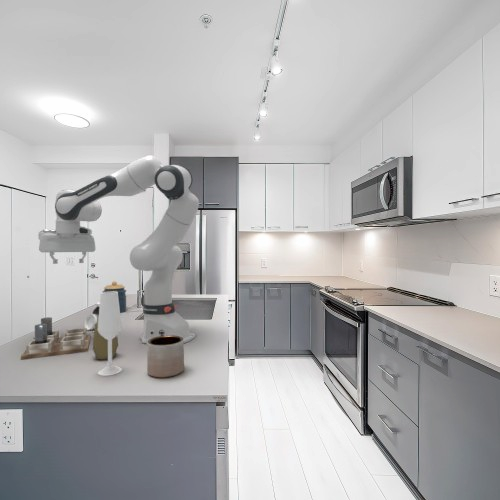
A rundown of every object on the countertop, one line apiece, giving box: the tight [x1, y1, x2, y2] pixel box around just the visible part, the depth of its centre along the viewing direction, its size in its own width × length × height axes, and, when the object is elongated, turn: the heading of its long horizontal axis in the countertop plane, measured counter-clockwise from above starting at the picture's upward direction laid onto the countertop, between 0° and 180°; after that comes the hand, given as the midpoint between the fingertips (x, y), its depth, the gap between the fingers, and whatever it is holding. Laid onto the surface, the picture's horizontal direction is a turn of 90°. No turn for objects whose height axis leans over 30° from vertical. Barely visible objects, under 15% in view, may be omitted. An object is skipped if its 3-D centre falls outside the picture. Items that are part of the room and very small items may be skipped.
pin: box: [34, 323, 47, 344], centre depth 113 cm, size 4×4×9 cm
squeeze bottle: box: [92, 316, 119, 360], centre depth 109 cm, size 8×8×18 cm
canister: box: [102, 281, 128, 314], centre depth 185 cm, size 13×13×18 cm
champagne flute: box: [97, 291, 123, 377], centre depth 97 cm, size 7×7×24 cm
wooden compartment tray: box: [20, 316, 92, 360], centre depth 120 cm, size 20×20×10 cm
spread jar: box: [84, 301, 100, 331], centre depth 148 cm, size 12×11×12 cm
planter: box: [146, 335, 185, 379], centre depth 96 cm, size 11×11×10 cm
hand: (68, 263), depth 131 cm, fingers open, 8 cm apart
